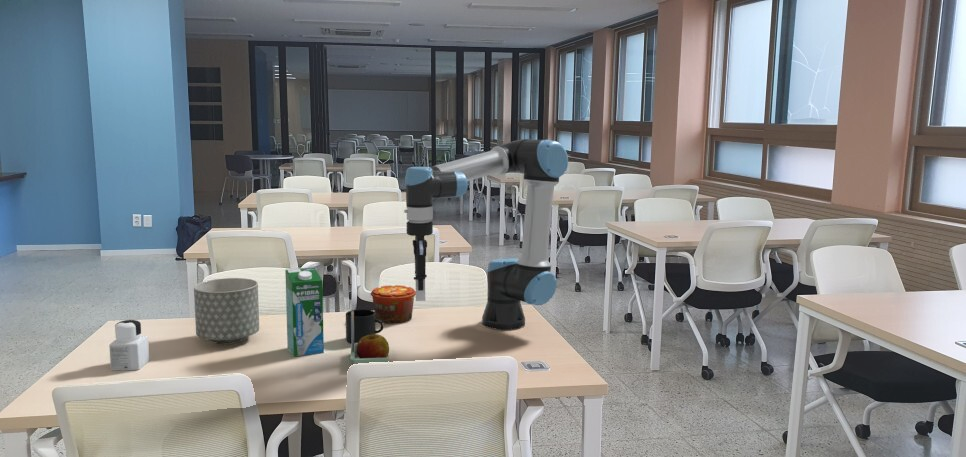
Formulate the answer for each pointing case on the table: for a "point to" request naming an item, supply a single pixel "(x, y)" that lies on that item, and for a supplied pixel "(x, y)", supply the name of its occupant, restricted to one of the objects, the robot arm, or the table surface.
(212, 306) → the planter
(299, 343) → the milk carton
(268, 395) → the table surface
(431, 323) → the table surface
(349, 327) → the mug
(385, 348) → the fruit
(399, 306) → the food container
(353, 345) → the long-handled green u-channel
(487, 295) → the robot arm
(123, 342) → the container
